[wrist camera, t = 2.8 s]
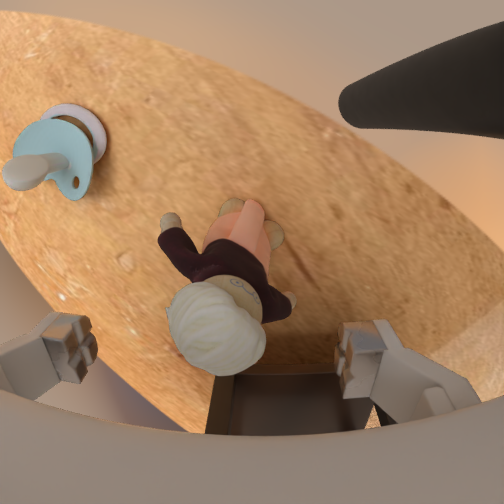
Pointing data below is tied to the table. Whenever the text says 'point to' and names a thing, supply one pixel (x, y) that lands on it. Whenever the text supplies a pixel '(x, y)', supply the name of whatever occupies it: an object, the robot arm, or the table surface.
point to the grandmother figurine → (225, 288)
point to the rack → (286, 402)
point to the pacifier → (56, 152)
